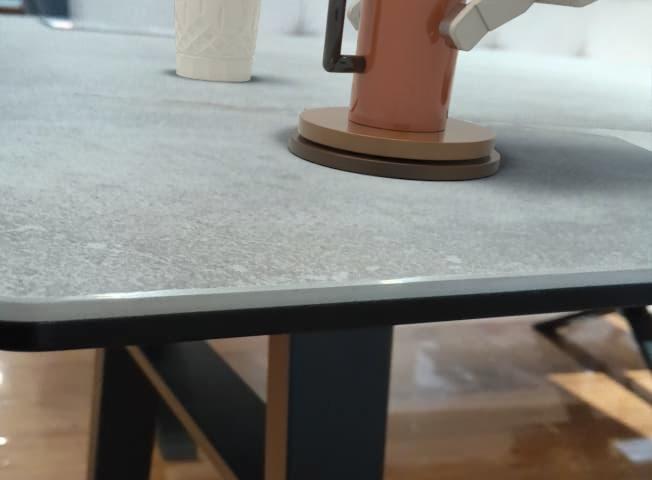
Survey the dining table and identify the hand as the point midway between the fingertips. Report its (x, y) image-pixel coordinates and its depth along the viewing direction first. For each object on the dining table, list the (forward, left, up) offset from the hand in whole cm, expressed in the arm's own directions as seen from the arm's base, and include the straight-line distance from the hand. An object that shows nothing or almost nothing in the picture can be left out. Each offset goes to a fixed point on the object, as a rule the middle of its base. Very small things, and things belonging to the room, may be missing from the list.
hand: (400, 32), depth 52 cm
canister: (-1, 0, -6) cm, 6 cm away
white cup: (+9, -30, -7) cm, 33 cm away
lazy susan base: (-1, 0, -7) cm, 7 cm away
